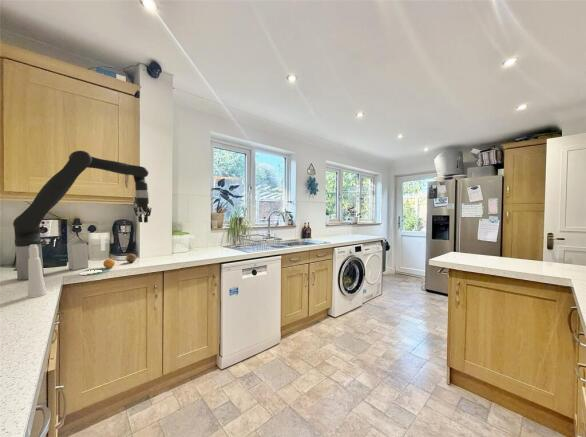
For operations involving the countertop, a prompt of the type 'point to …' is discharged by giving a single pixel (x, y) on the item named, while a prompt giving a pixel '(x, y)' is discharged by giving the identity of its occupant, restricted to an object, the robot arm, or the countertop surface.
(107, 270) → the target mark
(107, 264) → the object ball
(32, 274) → the cosmetic bottle
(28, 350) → the countertop surface
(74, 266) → the milk carton
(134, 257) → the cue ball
